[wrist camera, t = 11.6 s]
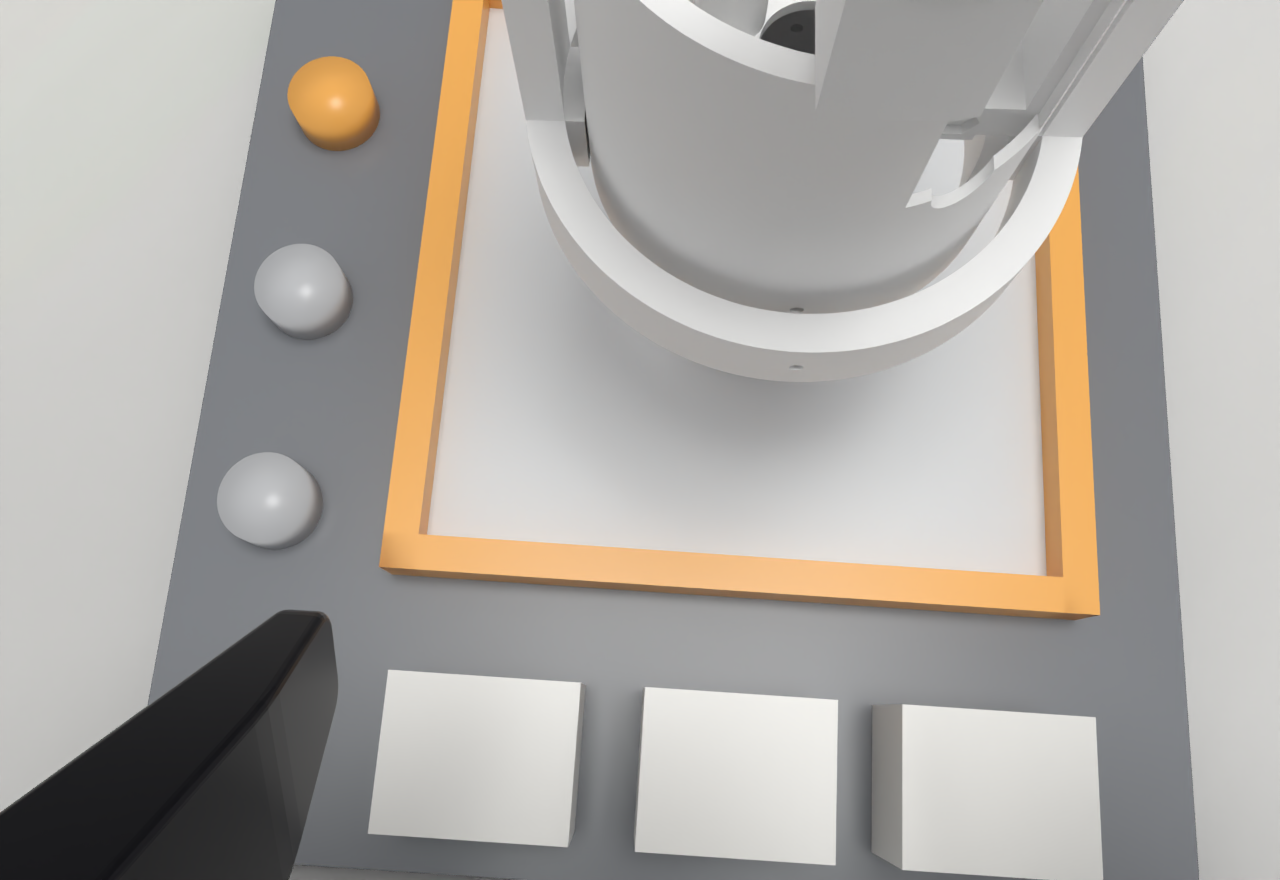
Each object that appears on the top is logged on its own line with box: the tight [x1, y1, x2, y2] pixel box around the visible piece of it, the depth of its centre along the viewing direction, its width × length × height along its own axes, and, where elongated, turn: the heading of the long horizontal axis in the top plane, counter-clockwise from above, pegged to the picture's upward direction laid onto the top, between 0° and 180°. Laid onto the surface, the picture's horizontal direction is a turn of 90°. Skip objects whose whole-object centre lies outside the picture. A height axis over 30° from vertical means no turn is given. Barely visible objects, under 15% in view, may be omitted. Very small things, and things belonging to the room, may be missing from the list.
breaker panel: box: [148, 0, 1199, 880], centre depth 19 cm, size 18×18×3 cm
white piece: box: [501, 0, 1184, 382], centre depth 12 cm, size 7×7×15 cm
